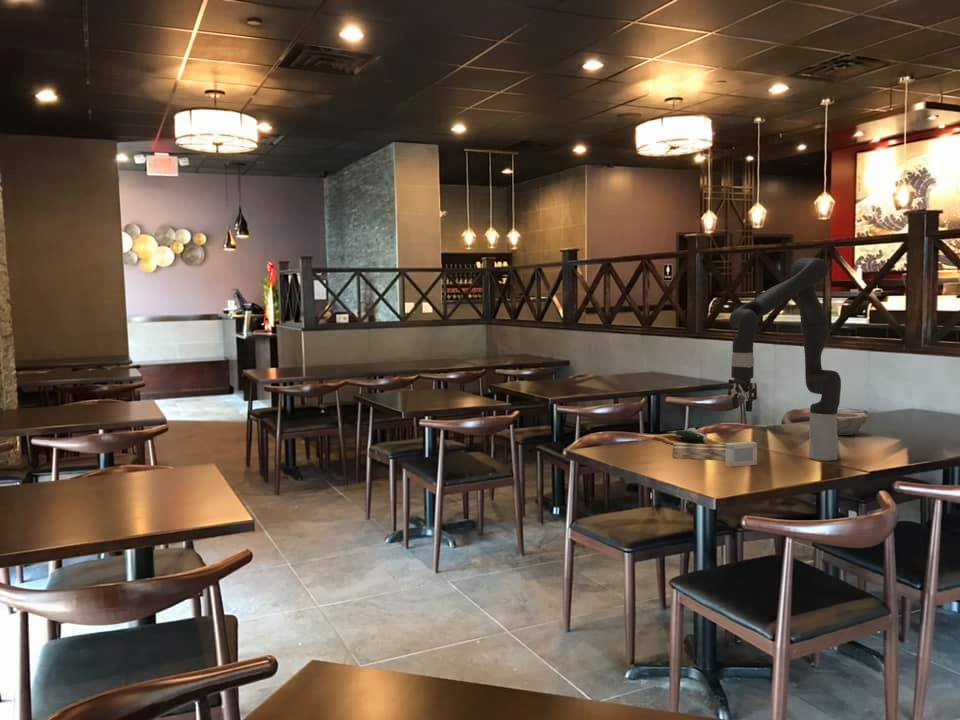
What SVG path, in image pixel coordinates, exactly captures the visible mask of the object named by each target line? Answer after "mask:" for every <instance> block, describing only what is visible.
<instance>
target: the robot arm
mask: <svg viewBox="0 0 960 720" xmlns="http://www.w3.org/2000/svg"><path fill="white" fill-rule="evenodd" d="M791 268H792V269H791V270H792V271H791V274H792V276H791V277H790V278H789V279H787V280H785V281H782V282H780V283H778V284H776V285H773V286H772V287H769V288H768V289H767V290H765V291H764V292H762V293H760V294H759V295H758V296H756V298H754V299H753V300H751V301H749V302H746V303H745V304H743V305H740V306H739V307H738V308H735V309H734V310H733V311H732V312H731V314H730V315H729V320H728V321H729V323H730V326H731V327H733V328H735V329H737V330H738V333H737V335H736V336H734V337H733V338H732V353H731V368H730V369H731V370H730V371H731V374H730V377H731V378H732V379H731V378H730V379H728V381H727V382H728V383H727V395H728V396H730V398H731V408H732V409H738V408H739V396H740V395H741V394H742V396H743V397H744V399H745V409H744V410H745V412H749V413H752V412H753V401H756V400H757V399H758V395H757V394H758V393H757V391H758V390H757V388H758V386H757V382H752V381H751V379H753V378H754V370H755V369H754V366H755V364H754V363H755V362H754V361H755V359H754V358H755V357H754V340H755V337H756V334H757V333H756V332H757V328H758V322H759V320H758V319H759V317H763V316H767V315H768V314H770V313H771V312H772V311H774V310H775V309H776V308H778V307H779V306H780V305H782V304H783V303H784V302H786V301H788V300H789V299H791V298H793V297H794V296H796V297H797V302H798V308H799V309H798V310H799V315H800V316H799V317H800V326H801V327H800V328H801V334H802V335H801V336H802V341H803V351H804V367H805V368H804V375H805V379H804V380H805V385H806V388H807V390H808V391H809V392H810V393H812V394H816V395H821V396H820V397H821V398H820V400H819V401H818V402H815V403H812V404H811V405H810V407H809V435H808V436H809V439H808V458H809V459H813V460H817V461H827V462H828V461H838V443H839V441H838V440H839V435H837V412H838V410H839V406H840V402H841V401H840V400H841V393H842V392H841V390H842V380H841V379H842V378H841V375H840V374H839V373H838V372H837V371H836V370H831V369H823V368H822V355H823V351H824V349H825V347H826V345H827V343H828V340H829V337H830V325H829V318H828V315H827V311H826V310H825V308H824V307H823V304H822V303H821V301H820V300H819V298H818V296H817V292H816V286H815V285H817V284H818V283H819V284H820V283H821V281H822V282H823V280H824V279H826V277H827V275H828V273H829V266H828V263H827V262H826V261H825V260H824V259H823V258H819V257H802V258H798V259H797V260H795V261H794V262H793V265H792V267H791Z"/></svg>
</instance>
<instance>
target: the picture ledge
mask: <svg viewBox="0 0 960 720" xmlns="http://www.w3.org/2000/svg"><path fill="white" fill-rule="evenodd" d="M685 458H693V459H692V460H707V459H709V460H710V461H715V460H716V461H725V445H710V444H685V443H673V446H672V459H685Z"/></svg>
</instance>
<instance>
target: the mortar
mask: <svg viewBox="0 0 960 720" xmlns="http://www.w3.org/2000/svg"><path fill="white" fill-rule="evenodd" d="M869 419H870V417H869V415H868V414H867V413H866V414H864V413H861V412H860V413H859V412H852V411H837V435H838V436H839V435H853V434H857V433H859V430H861V427H862V426H863V425H864V424H866V423H867V422H868V420H869ZM853 436H854V435H853Z"/></svg>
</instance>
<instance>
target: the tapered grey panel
mask: <svg viewBox="0 0 960 720" xmlns="http://www.w3.org/2000/svg"><path fill="white" fill-rule="evenodd" d="M724 461H725V462H724V465H725V466H727V467H742V466H743V467H744V466H757V465H758V442H754V441H742V442H741V441H740V442H726V443H725V460H724Z"/></svg>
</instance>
